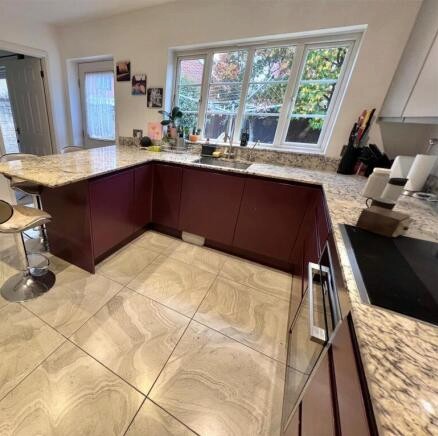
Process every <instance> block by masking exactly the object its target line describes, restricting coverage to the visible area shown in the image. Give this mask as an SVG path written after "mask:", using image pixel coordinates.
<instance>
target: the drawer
mask: <svg viewBox="0 0 438 436" xmlns="http://www.w3.org/2000/svg"><path fill="white" fill-rule="evenodd" d="M412 221H413V217H410V218H407V219H405V220H403V221H400V222H399V224H398V226H397V228H396V229H395V231H394V233H393V235H392V236H393V237H392V238H398V237H399V236H401V235H403V234H405V233H406V232H408V231H409V229H410V227H409V226H410V225H411V223H412Z"/></svg>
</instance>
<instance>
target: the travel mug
mask: <svg viewBox="0 0 438 436" xmlns="http://www.w3.org/2000/svg"><path fill="white" fill-rule="evenodd" d="M409 180H410V179H409V178H407V177H390V179H389V181H388V184H387V186H386V188H385V190H384V192H383V194H382V196H381V198H385V199H389V200H393V201H395V202H397V203H398V201H399V199H400V197H401V195H402V193H403V192H404V189H405V187H406V186H407V185H406V184H407V183H408V181H409ZM394 208H395V206H394V207H393V209H392V210H393V211H394Z"/></svg>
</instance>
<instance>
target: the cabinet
mask: <svg viewBox="0 0 438 436" xmlns="http://www.w3.org/2000/svg"><path fill="white" fill-rule="evenodd" d="M370 206H371V205H370ZM370 206H369V207H365V208H363V209H362V210H361V212H360V215H359V217H358V219H357V221H356V223H355V225H354V227H357V228H359V229H362V230H365V231H368V232H371V233H374V234H376V233H377V235H379V234H380V235H379V236H382V235H383V237H385V238H388V239H391V238H394V237H393V236H392V235H393V233H394V231H395V229H396V228H397V226H398V224H399V222H400V221H403V220H405V219H407V218H411V215H410V214H407V213H403V212H399V211H396V210H394V209H393V210H389V209H385V208H382V207H378V206H371V207H370Z"/></svg>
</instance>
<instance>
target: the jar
mask: <svg viewBox="0 0 438 436" xmlns="http://www.w3.org/2000/svg"><path fill="white" fill-rule="evenodd" d="M392 173H393V170H392V169H390V168H382V167H374V168H373V171H372V172H371V174H369V176H368V179H367V180H366V182H365V185H364V187H363V189H362V191H361V195H362V196H363V197H365V198H367V199H368V198H372V199H373V198H374V197H379V198H381V196H382V194H383V192H384V190H385V188H386V186H387V184H388V182H389V180H390V178H391V177H390V176H391V174H392Z"/></svg>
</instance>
